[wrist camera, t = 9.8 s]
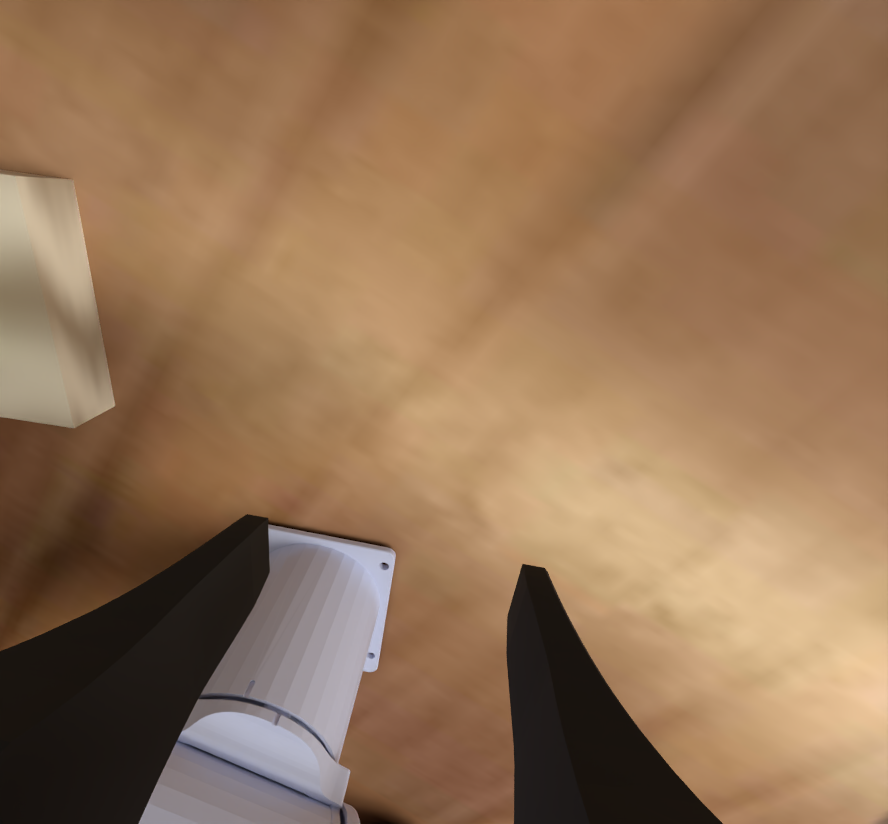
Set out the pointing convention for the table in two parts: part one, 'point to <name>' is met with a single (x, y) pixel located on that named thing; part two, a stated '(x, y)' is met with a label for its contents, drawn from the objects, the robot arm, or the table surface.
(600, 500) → the table surface
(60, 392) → the birch block
